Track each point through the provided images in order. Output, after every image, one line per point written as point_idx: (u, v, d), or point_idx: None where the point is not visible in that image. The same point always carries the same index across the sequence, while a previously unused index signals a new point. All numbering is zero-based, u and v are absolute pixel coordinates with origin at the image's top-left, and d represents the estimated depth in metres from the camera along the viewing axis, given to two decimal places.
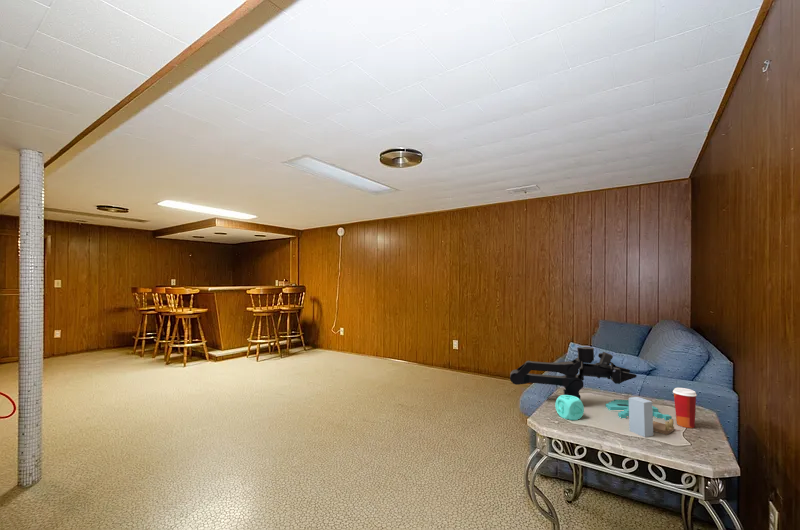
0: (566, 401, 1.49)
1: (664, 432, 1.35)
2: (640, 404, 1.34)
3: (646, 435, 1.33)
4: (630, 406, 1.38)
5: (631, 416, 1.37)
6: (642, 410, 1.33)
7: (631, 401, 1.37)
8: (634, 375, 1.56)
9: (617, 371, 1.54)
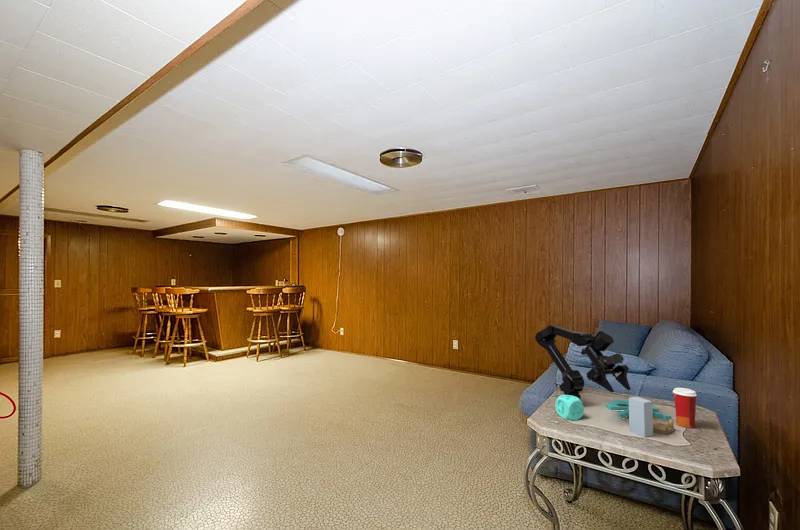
0: (566, 401, 1.49)
1: (664, 432, 1.35)
2: (640, 404, 1.34)
3: (646, 435, 1.33)
4: (630, 406, 1.38)
5: (631, 416, 1.37)
6: (642, 410, 1.33)
7: (631, 401, 1.37)
8: (611, 390, 1.43)
9: (594, 371, 1.45)
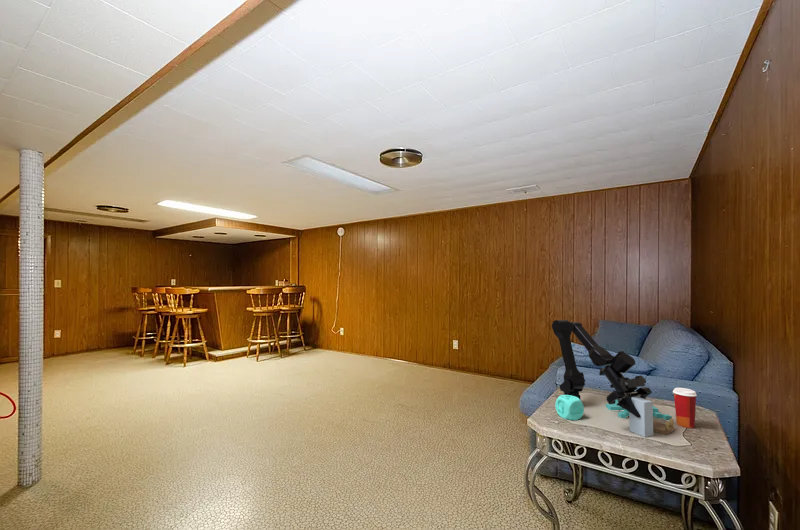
0: (566, 401, 1.49)
1: (664, 432, 1.35)
2: (640, 404, 1.34)
3: (646, 435, 1.33)
4: None
5: (631, 416, 1.37)
6: (642, 410, 1.33)
7: None
8: (637, 415, 1.34)
9: (615, 395, 1.36)
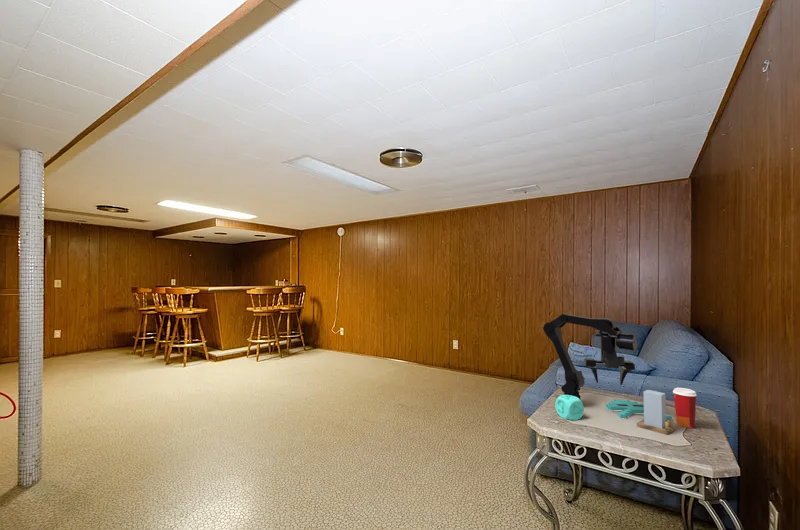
0: (566, 401, 1.49)
1: (664, 432, 1.35)
2: (656, 397, 1.39)
3: (663, 426, 1.38)
4: (645, 399, 1.42)
5: (646, 409, 1.41)
6: (659, 403, 1.38)
7: (646, 395, 1.42)
8: (596, 380, 1.57)
9: (585, 363, 1.57)
